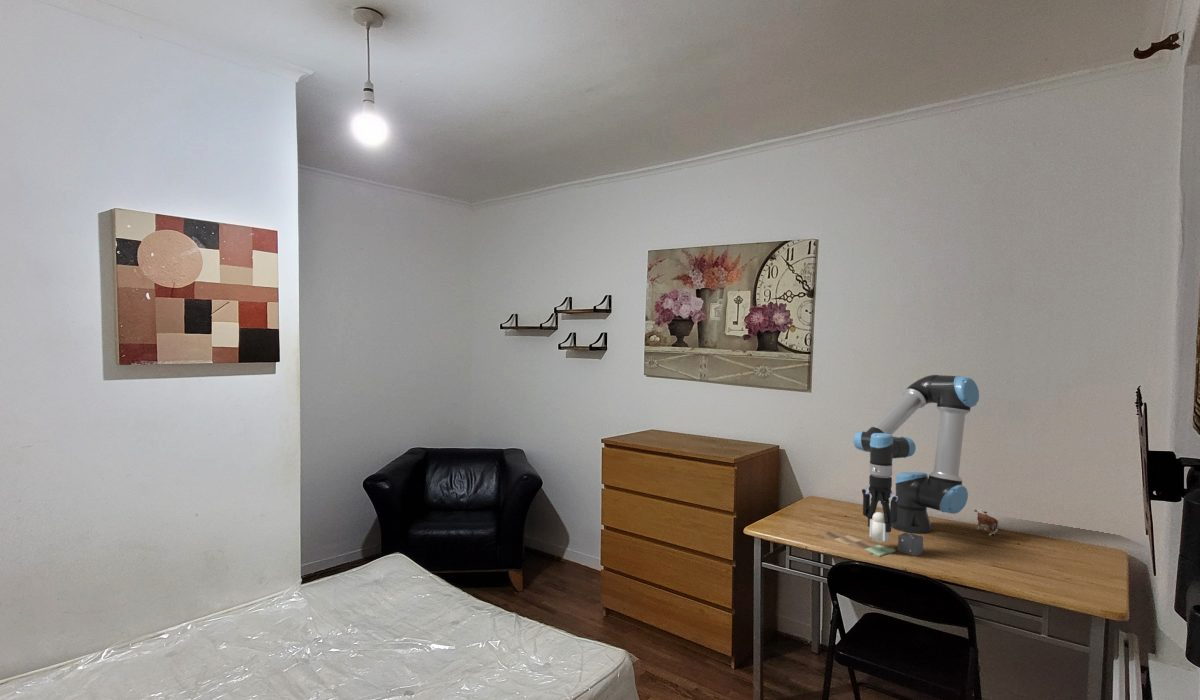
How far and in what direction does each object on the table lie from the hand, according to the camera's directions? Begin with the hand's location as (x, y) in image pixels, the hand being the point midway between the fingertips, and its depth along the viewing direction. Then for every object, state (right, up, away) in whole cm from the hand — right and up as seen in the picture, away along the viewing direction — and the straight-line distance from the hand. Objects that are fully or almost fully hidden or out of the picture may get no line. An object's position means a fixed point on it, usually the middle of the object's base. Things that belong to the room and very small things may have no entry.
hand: (879, 538), depth 219 cm
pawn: (0, -1, 0) cm, 1 cm away
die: (+12, -5, 0) cm, 13 cm away
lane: (-5, -5, +8) cm, 11 cm away
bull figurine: (+56, -5, +25) cm, 61 cm away
